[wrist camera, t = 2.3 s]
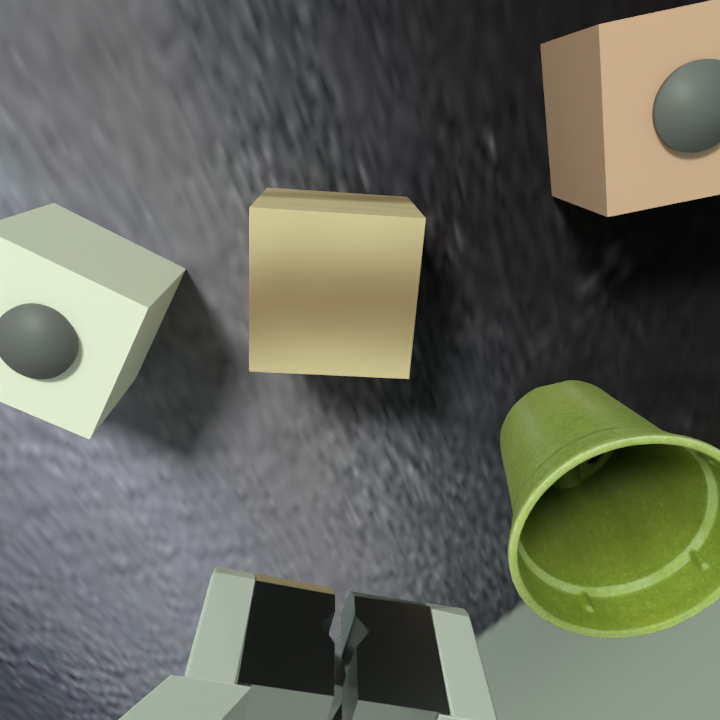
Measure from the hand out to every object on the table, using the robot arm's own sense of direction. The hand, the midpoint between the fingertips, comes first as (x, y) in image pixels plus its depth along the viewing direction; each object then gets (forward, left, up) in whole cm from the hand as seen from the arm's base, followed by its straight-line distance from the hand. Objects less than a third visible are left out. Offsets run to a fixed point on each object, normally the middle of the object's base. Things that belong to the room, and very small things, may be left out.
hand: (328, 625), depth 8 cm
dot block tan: (-9, +10, -21) cm, 25 cm away
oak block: (0, 0, -21) cm, 21 cm away
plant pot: (+6, +13, -21) cm, 26 cm away
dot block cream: (+4, -10, -21) cm, 24 cm away
